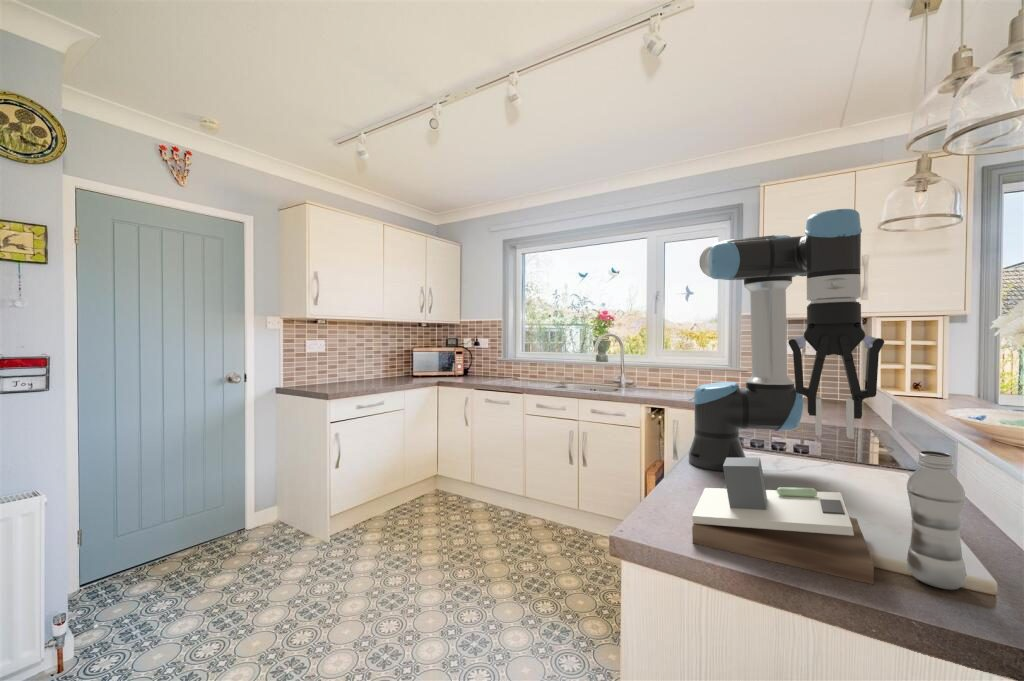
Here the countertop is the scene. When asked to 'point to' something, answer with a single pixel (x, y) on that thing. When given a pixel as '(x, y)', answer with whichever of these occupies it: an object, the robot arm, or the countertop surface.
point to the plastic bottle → (936, 522)
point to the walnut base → (795, 548)
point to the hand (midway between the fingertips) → (834, 435)
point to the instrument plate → (769, 504)
